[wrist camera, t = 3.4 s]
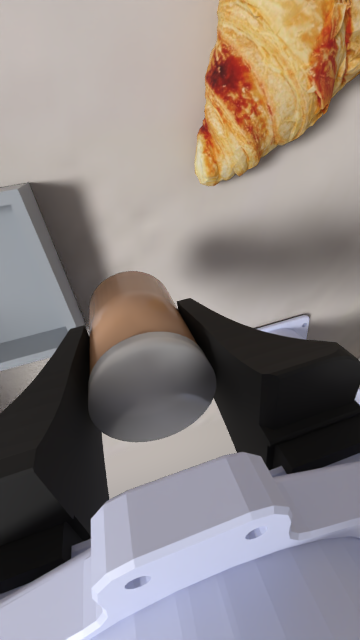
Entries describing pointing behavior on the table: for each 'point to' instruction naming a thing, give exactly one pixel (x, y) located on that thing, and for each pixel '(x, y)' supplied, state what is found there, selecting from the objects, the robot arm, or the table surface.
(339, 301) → the table surface
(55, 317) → the bin
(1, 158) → the table surface
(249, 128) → the croissant
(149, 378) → the shaker
